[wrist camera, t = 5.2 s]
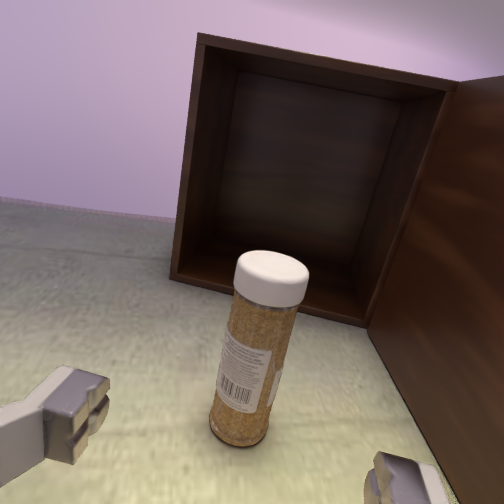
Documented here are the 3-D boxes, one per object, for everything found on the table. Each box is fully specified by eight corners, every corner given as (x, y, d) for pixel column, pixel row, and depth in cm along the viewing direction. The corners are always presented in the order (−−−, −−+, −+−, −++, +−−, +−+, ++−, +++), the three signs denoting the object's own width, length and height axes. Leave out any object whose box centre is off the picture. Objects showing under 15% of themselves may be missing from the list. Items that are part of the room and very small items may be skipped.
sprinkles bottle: (279, 430, 26) (325, 272, 22) (232, 461, 23) (274, 285, 19) (241, 391, 29) (274, 244, 25) (195, 414, 26) (223, 251, 22)
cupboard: (369, 329, 43) (461, 81, 33) (168, 279, 45) (197, 31, 35) (353, 272, 60) (411, 96, 50) (207, 237, 62) (234, 62, 52)
